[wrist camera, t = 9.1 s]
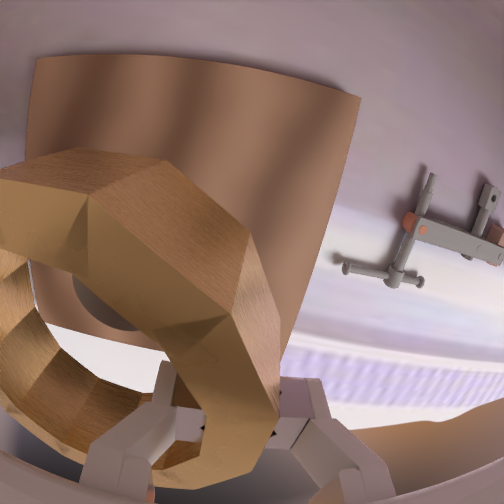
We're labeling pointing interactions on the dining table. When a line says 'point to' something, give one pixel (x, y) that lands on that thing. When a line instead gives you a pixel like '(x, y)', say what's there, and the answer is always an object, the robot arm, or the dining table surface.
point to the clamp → (442, 237)
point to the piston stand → (199, 159)
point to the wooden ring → (138, 306)
